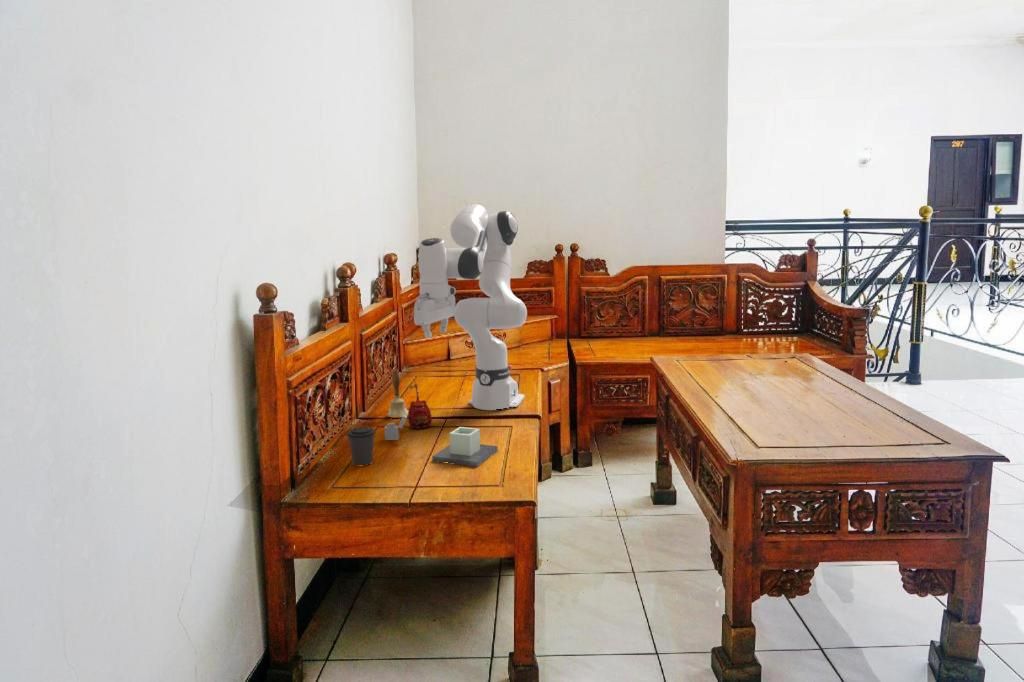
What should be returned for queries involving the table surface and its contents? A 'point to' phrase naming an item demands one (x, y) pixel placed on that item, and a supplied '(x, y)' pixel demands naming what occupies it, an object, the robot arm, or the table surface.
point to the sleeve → (464, 441)
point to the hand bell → (397, 399)
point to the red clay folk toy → (419, 413)
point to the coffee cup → (361, 445)
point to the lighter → (394, 429)
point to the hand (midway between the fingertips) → (436, 335)
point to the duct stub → (471, 460)
